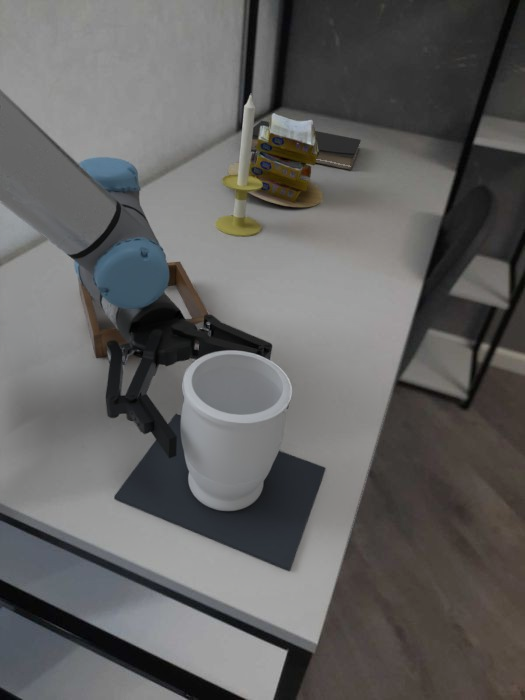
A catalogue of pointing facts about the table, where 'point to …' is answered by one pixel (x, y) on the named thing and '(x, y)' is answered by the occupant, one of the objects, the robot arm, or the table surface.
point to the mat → (229, 526)
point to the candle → (242, 183)
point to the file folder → (326, 147)
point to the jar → (232, 425)
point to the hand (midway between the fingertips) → (234, 423)
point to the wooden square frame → (104, 336)
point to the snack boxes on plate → (285, 162)
